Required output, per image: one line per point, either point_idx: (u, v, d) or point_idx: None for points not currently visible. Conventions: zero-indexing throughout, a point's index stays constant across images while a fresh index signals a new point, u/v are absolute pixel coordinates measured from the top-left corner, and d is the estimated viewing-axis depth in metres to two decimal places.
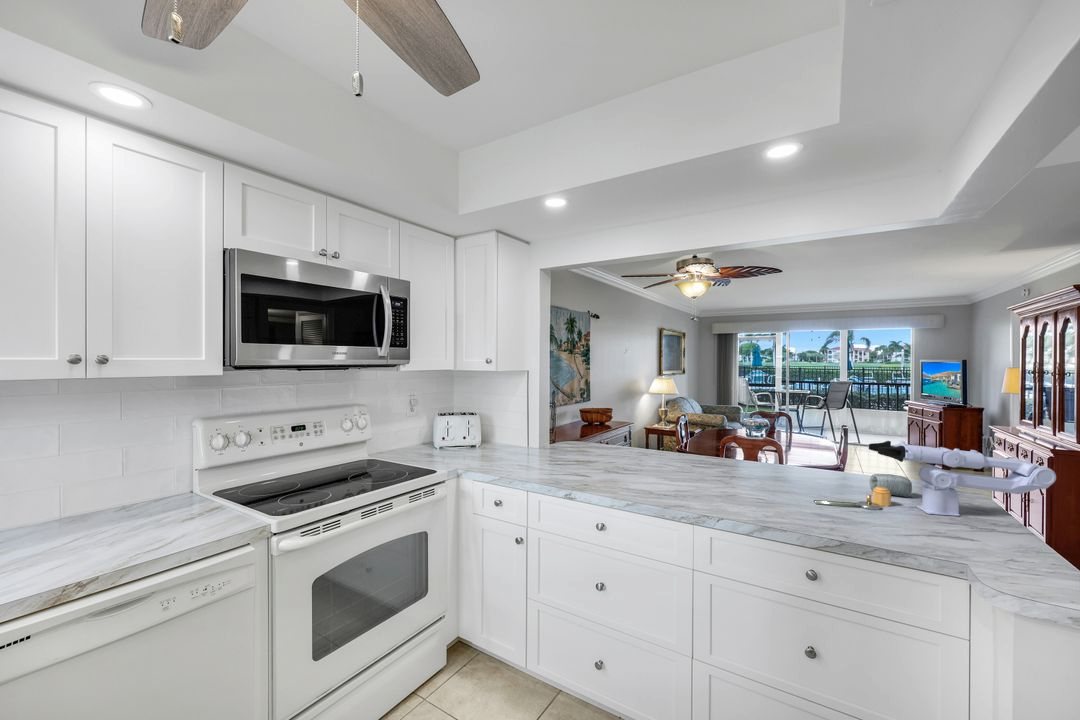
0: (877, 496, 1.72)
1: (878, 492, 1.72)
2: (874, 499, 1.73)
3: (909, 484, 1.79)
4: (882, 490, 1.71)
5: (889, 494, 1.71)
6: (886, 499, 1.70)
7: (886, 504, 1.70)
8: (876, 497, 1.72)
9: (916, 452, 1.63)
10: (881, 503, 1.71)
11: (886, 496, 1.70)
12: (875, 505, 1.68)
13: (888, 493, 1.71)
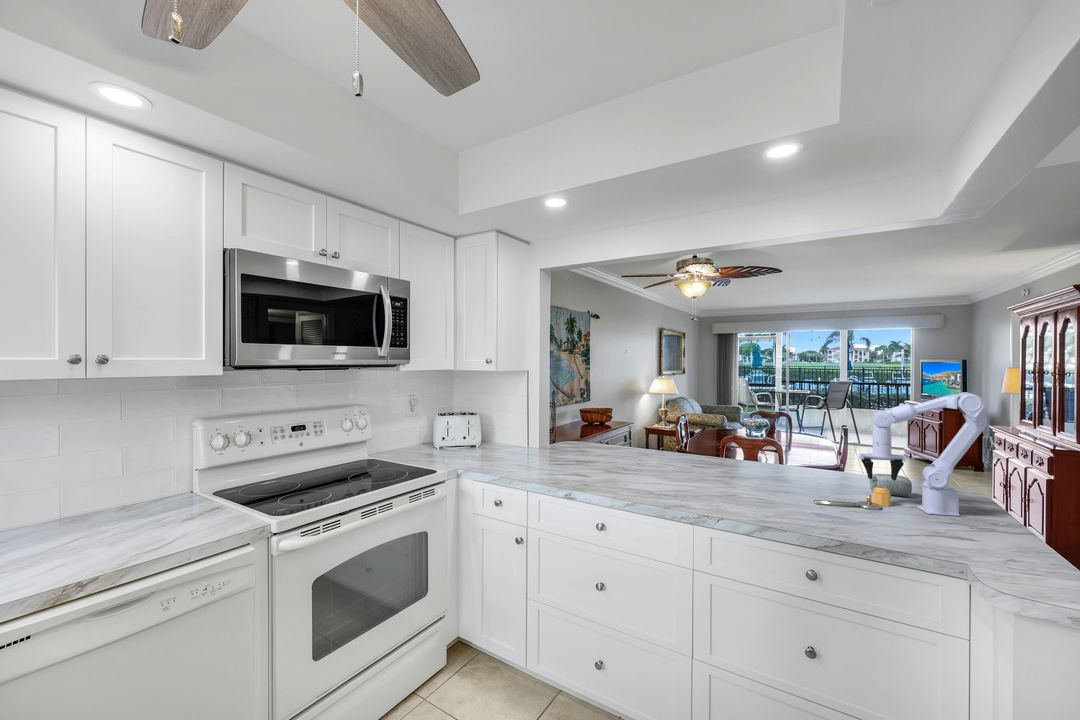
0: (877, 496, 1.72)
1: (878, 492, 1.72)
2: (874, 499, 1.73)
3: (909, 484, 1.79)
4: (882, 490, 1.71)
5: (889, 494, 1.71)
6: (886, 499, 1.70)
7: (886, 504, 1.70)
8: (876, 497, 1.72)
9: None
10: (881, 503, 1.71)
11: (886, 496, 1.70)
12: (875, 505, 1.68)
13: (888, 493, 1.71)
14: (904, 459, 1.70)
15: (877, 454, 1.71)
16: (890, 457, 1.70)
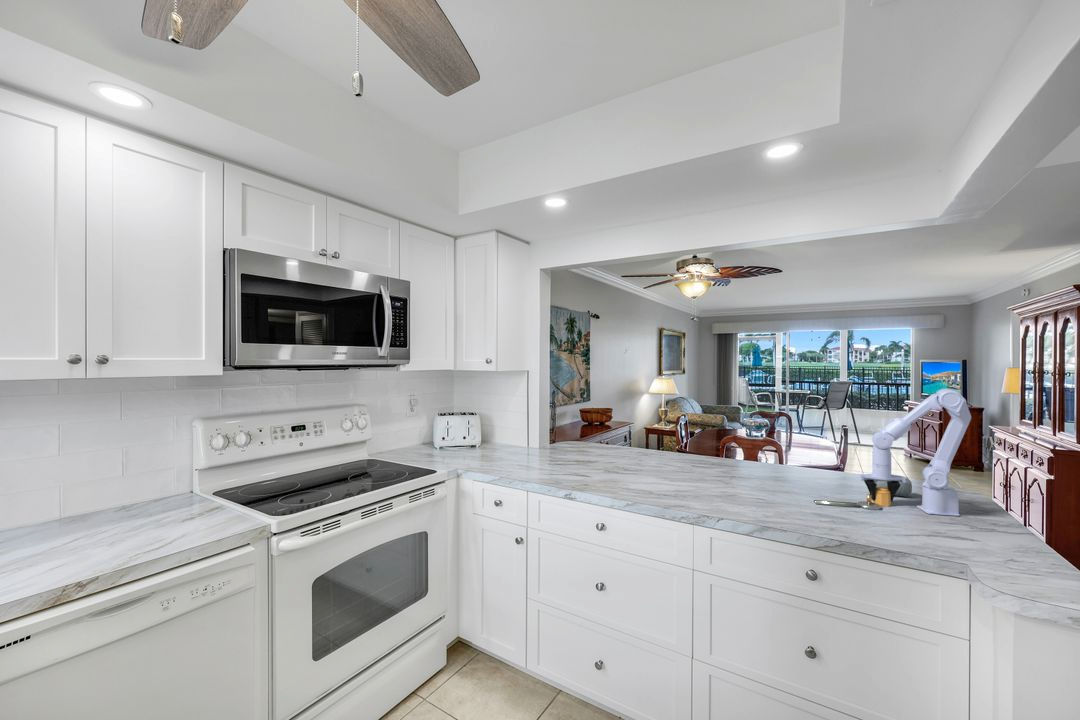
0: (877, 496, 1.72)
1: (878, 492, 1.72)
2: None
3: (909, 484, 1.79)
4: (882, 490, 1.71)
5: (889, 494, 1.71)
6: (886, 499, 1.70)
7: (886, 504, 1.70)
8: (876, 497, 1.72)
9: (872, 467, 1.74)
10: (881, 503, 1.71)
11: (886, 496, 1.70)
12: (875, 505, 1.68)
13: (888, 493, 1.71)
14: (904, 481, 1.70)
15: (877, 475, 1.72)
16: (890, 479, 1.70)
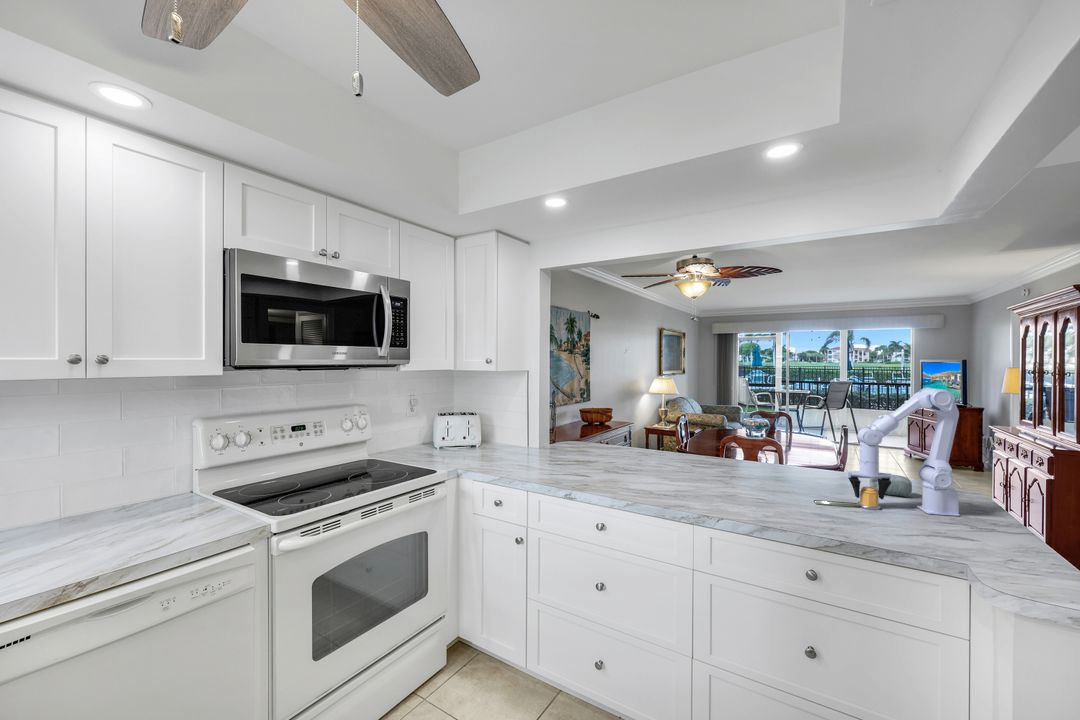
0: (864, 496, 1.69)
1: (865, 492, 1.68)
2: (861, 499, 1.70)
3: (909, 484, 1.79)
4: (869, 490, 1.68)
5: (876, 494, 1.68)
6: (873, 499, 1.67)
7: (873, 504, 1.67)
8: (863, 497, 1.69)
9: None
10: (869, 504, 1.68)
11: (873, 496, 1.67)
12: None
13: (875, 493, 1.67)
14: (892, 478, 1.67)
15: (864, 472, 1.68)
16: (877, 476, 1.67)
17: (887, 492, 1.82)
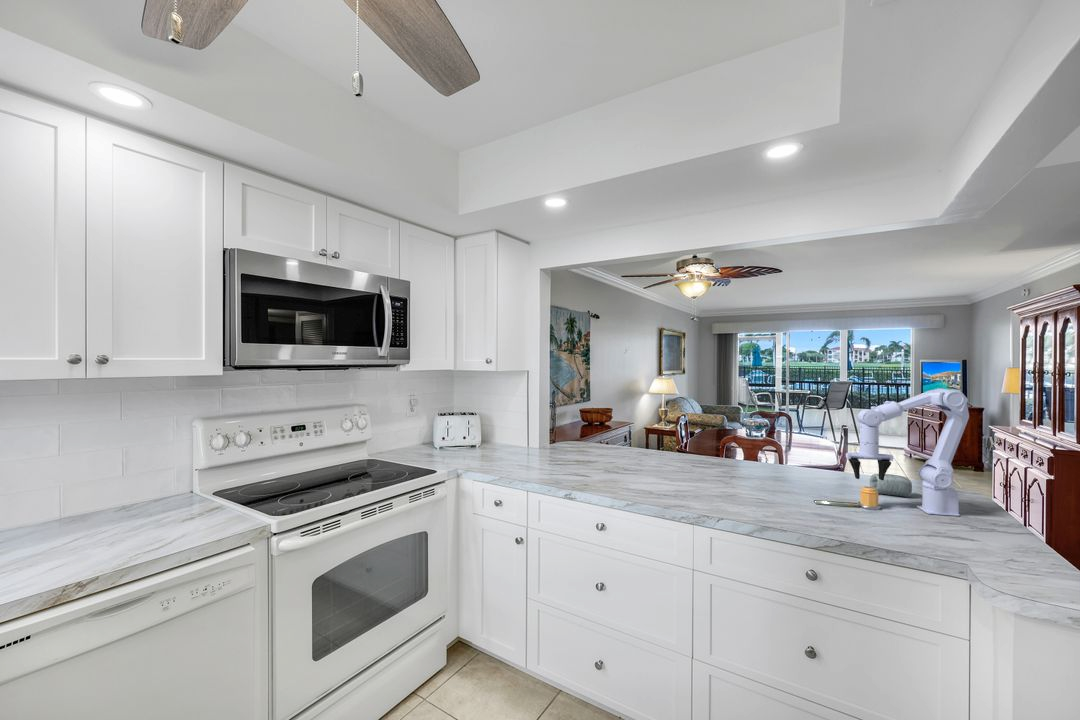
0: (864, 496, 1.69)
1: (865, 492, 1.68)
2: (861, 499, 1.70)
3: (909, 484, 1.79)
4: (869, 490, 1.68)
5: (876, 494, 1.68)
6: (873, 499, 1.67)
7: (873, 504, 1.67)
8: (863, 497, 1.69)
9: None
10: (869, 504, 1.68)
11: (873, 496, 1.67)
12: None
13: (875, 493, 1.67)
14: (892, 458, 1.67)
15: (864, 453, 1.68)
16: (877, 456, 1.67)
17: (887, 492, 1.82)
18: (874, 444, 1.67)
